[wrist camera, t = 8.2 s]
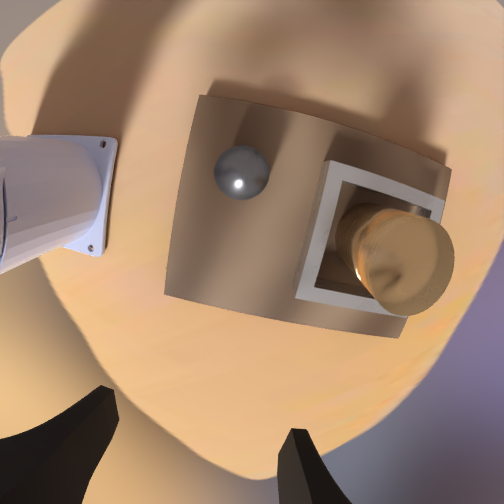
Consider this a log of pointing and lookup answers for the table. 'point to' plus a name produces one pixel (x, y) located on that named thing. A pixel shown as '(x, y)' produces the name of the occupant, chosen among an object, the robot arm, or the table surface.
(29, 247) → the robot arm
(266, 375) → the table surface
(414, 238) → the cylinder
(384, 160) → the fitting board
